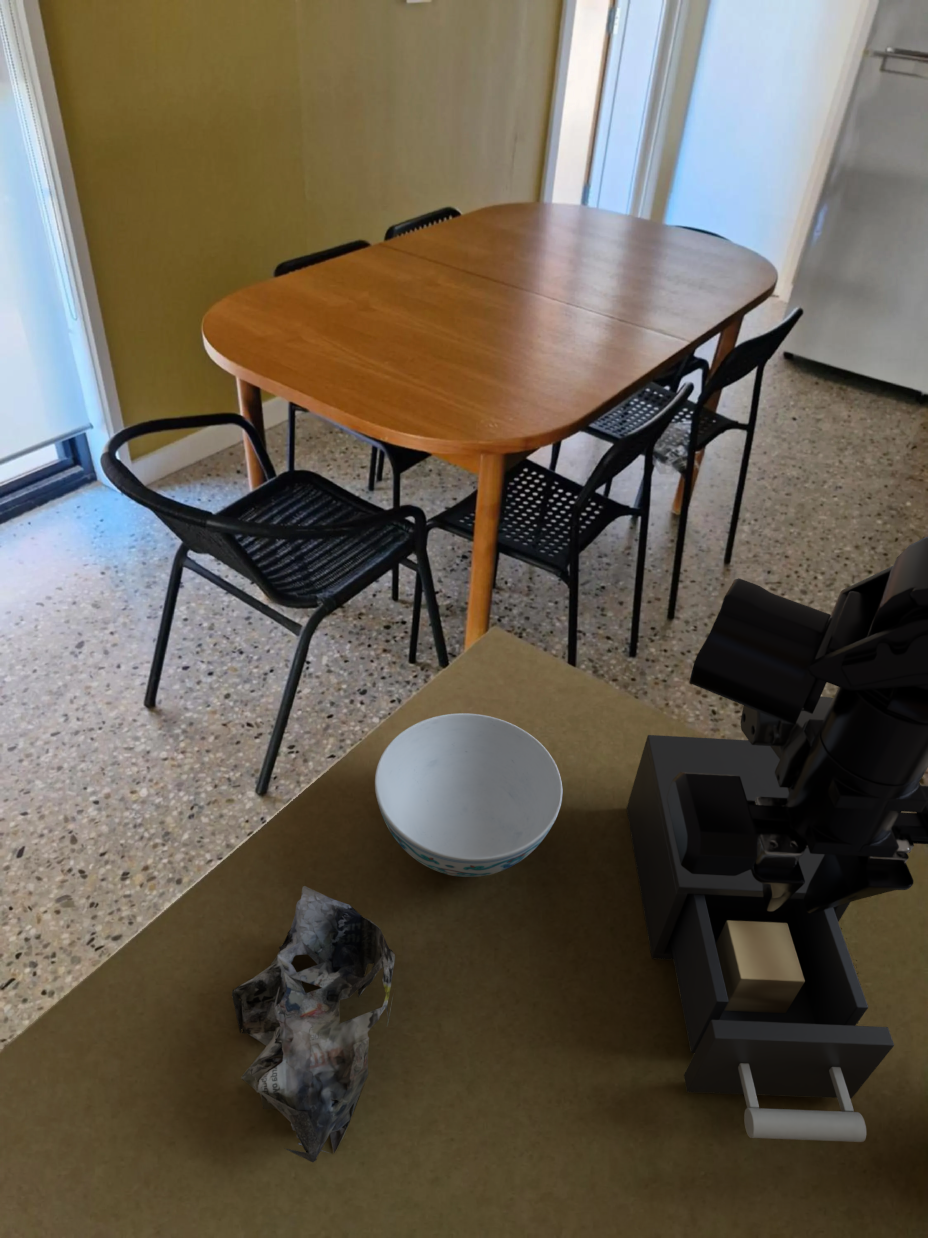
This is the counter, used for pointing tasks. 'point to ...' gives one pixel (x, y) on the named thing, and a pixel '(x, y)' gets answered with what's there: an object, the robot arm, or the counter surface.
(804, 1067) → the pulled-out drawer
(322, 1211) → the counter surface
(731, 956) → the block
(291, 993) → the foil
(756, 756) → the drawer cabinet
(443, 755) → the chinaware
